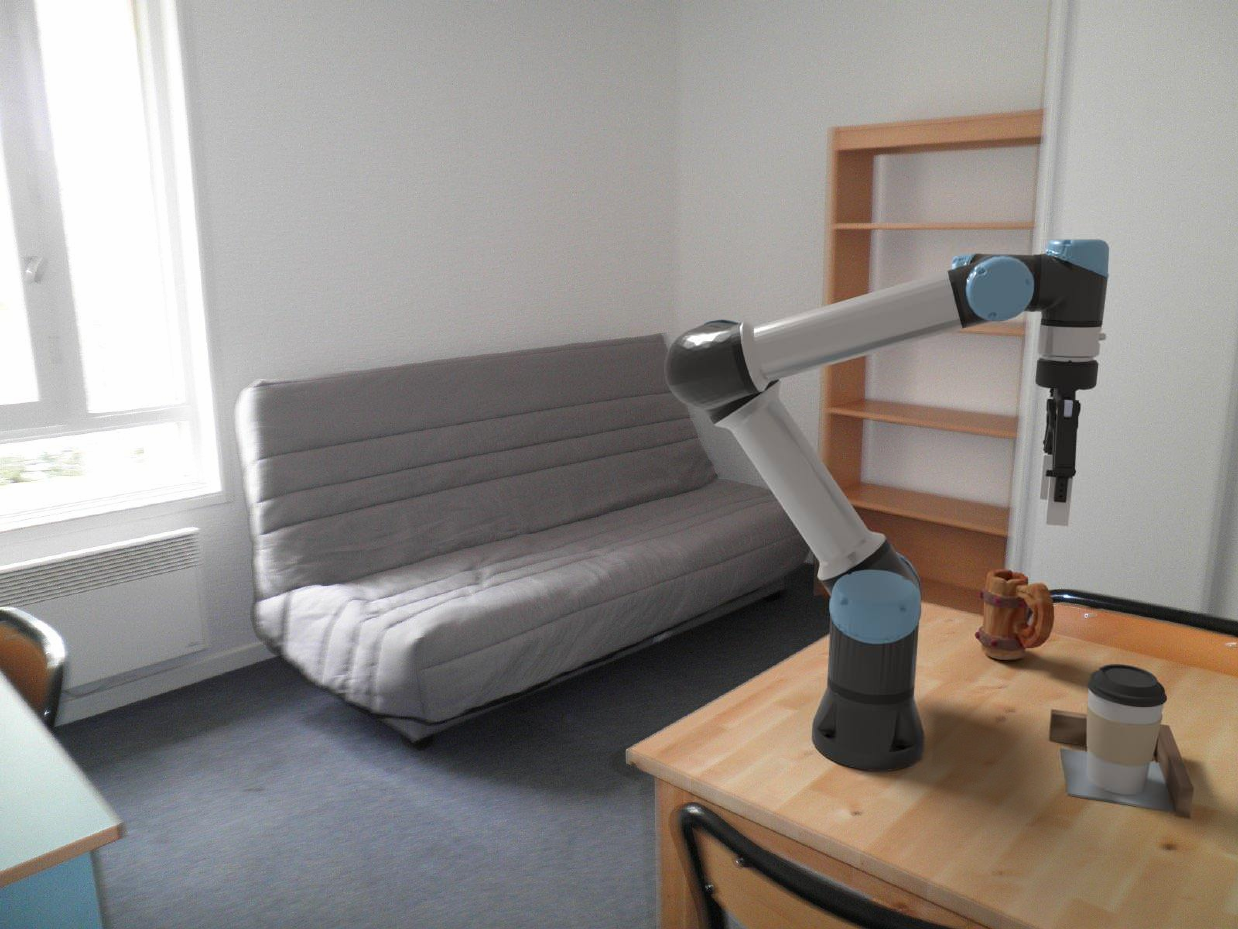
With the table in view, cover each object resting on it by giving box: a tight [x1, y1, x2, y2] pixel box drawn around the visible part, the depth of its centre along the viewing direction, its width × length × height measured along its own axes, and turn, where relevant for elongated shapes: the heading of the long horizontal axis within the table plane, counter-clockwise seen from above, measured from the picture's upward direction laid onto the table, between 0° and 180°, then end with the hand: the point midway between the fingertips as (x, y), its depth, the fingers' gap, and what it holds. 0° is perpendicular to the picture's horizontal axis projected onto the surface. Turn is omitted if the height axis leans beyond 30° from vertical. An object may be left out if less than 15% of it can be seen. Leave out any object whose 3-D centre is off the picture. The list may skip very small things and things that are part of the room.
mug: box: [974, 568, 1055, 661], centre depth 164 cm, size 15×8×15 cm, turn 17°
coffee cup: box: [1086, 663, 1168, 795], centre depth 127 cm, size 9×9×15 cm
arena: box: [1048, 708, 1195, 819], centre depth 130 cm, size 15×17×4 cm
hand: (1052, 511), depth 137 cm, fingers open, 13 cm apart
